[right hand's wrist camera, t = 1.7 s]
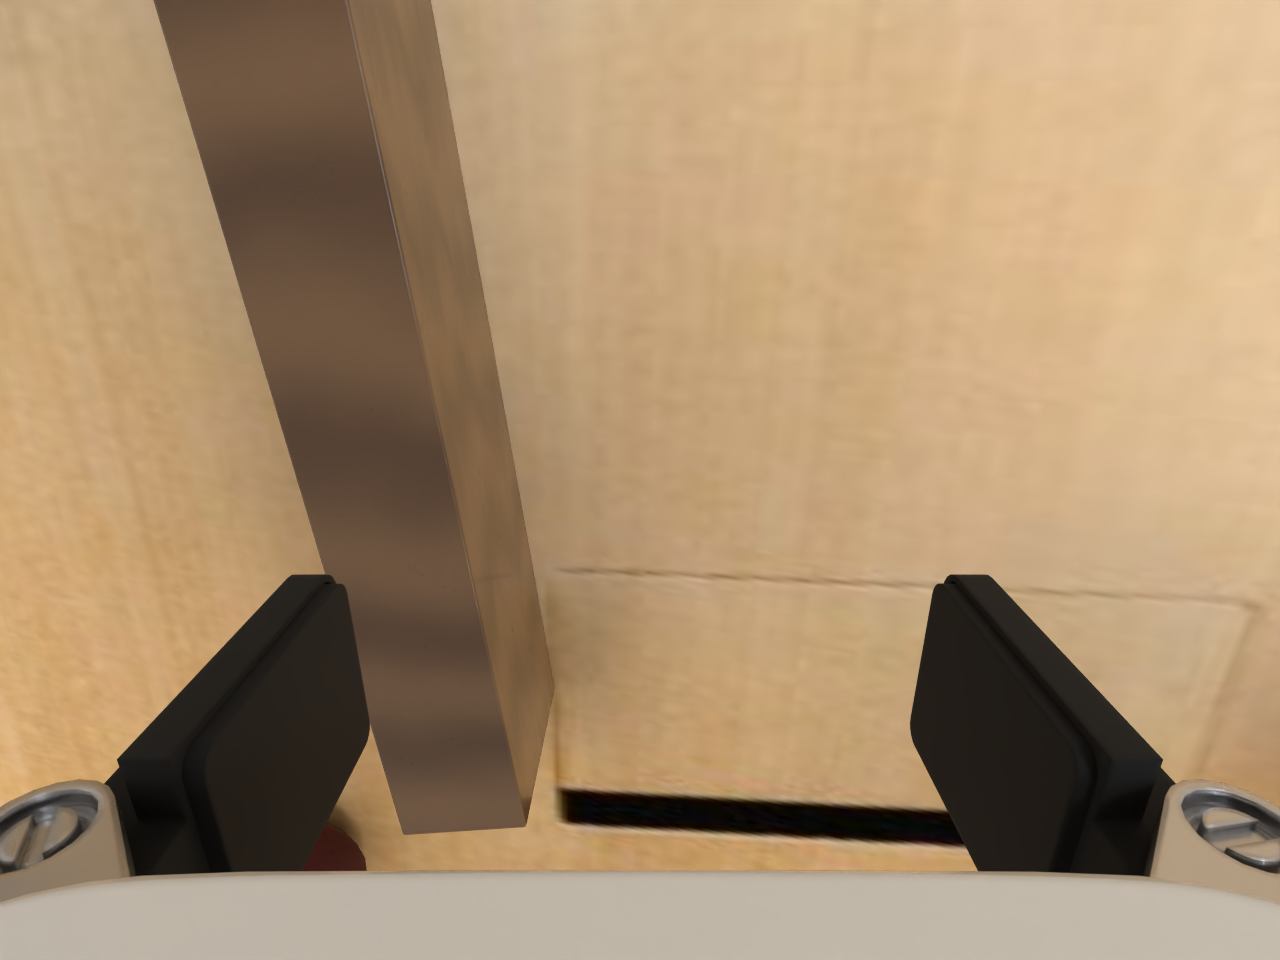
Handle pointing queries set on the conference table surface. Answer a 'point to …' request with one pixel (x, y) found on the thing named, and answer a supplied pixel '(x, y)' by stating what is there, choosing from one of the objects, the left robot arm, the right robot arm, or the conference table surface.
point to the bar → (380, 375)
